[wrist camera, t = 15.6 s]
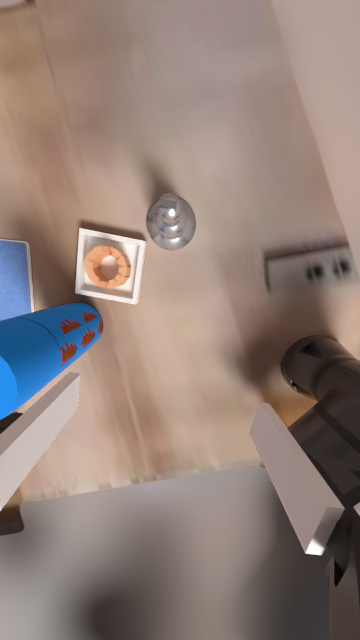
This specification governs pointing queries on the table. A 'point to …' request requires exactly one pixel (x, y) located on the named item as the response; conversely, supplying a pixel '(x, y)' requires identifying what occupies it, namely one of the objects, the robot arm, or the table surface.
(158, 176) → the table surface
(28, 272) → the tablet computer
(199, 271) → the table surface
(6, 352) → the thermos
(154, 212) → the grey stepped cylinder
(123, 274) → the ring
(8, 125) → the table surface
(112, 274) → the tray
